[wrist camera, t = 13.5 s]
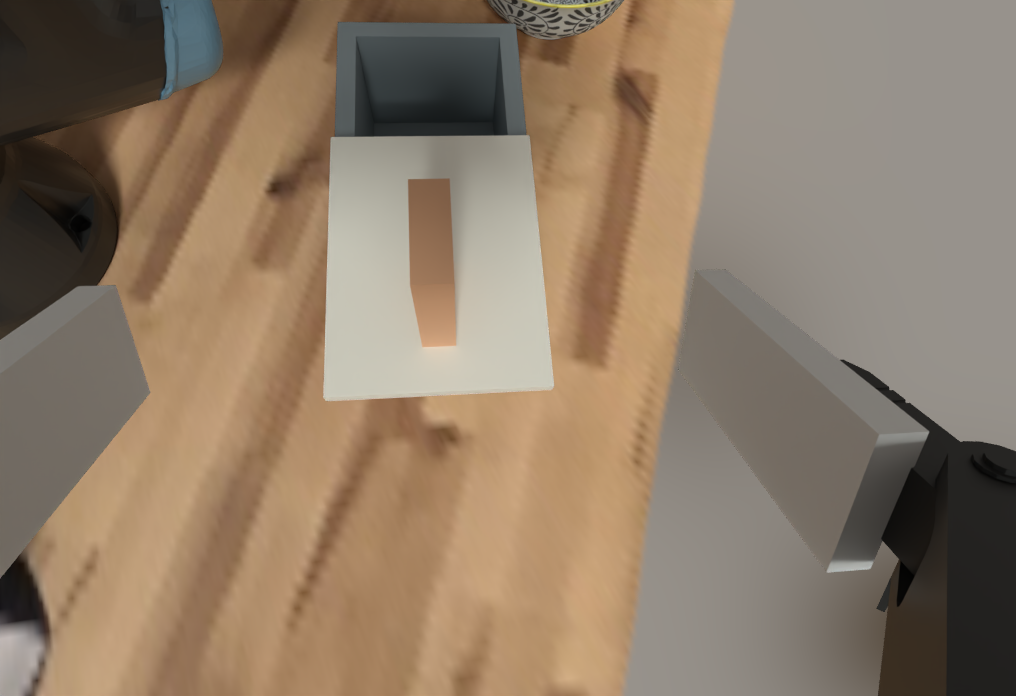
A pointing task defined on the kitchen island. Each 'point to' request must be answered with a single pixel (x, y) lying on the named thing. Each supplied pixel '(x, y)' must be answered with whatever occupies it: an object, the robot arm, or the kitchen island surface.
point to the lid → (434, 269)
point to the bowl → (554, 15)
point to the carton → (428, 80)
